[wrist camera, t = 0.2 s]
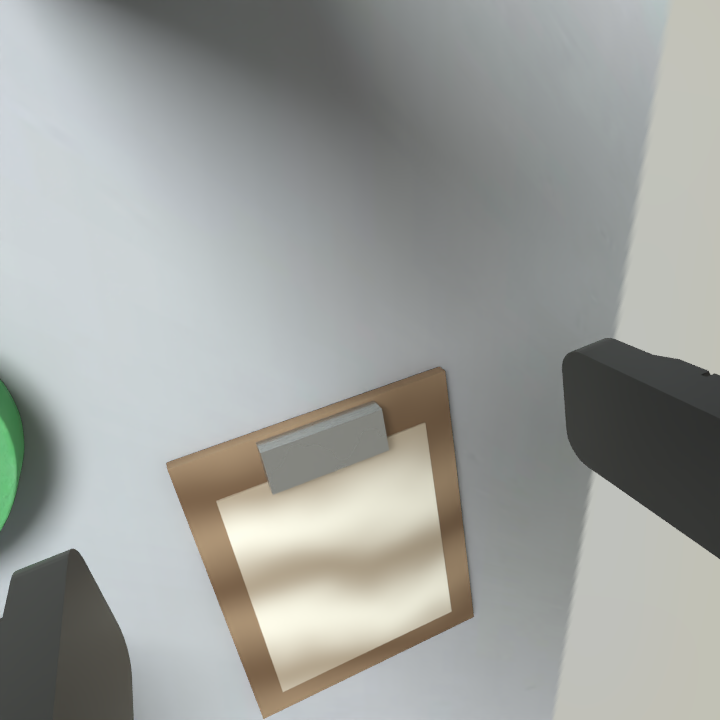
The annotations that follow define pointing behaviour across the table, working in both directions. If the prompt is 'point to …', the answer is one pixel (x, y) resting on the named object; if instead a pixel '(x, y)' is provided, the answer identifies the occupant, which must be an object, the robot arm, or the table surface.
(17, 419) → the tape roll
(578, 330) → the table surface
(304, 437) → the clipboard
